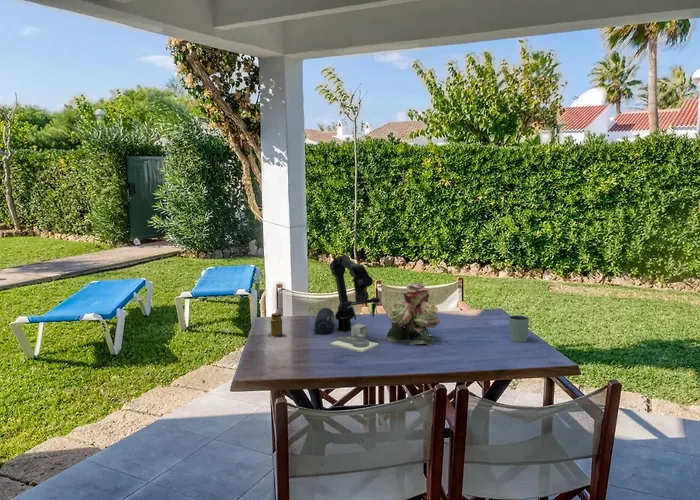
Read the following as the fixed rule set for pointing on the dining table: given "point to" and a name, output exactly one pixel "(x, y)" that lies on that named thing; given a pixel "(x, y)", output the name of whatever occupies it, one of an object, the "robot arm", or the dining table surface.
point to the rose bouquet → (413, 317)
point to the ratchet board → (349, 346)
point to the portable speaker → (324, 320)
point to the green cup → (518, 328)
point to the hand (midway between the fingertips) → (364, 318)
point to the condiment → (276, 326)
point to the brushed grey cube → (358, 330)
